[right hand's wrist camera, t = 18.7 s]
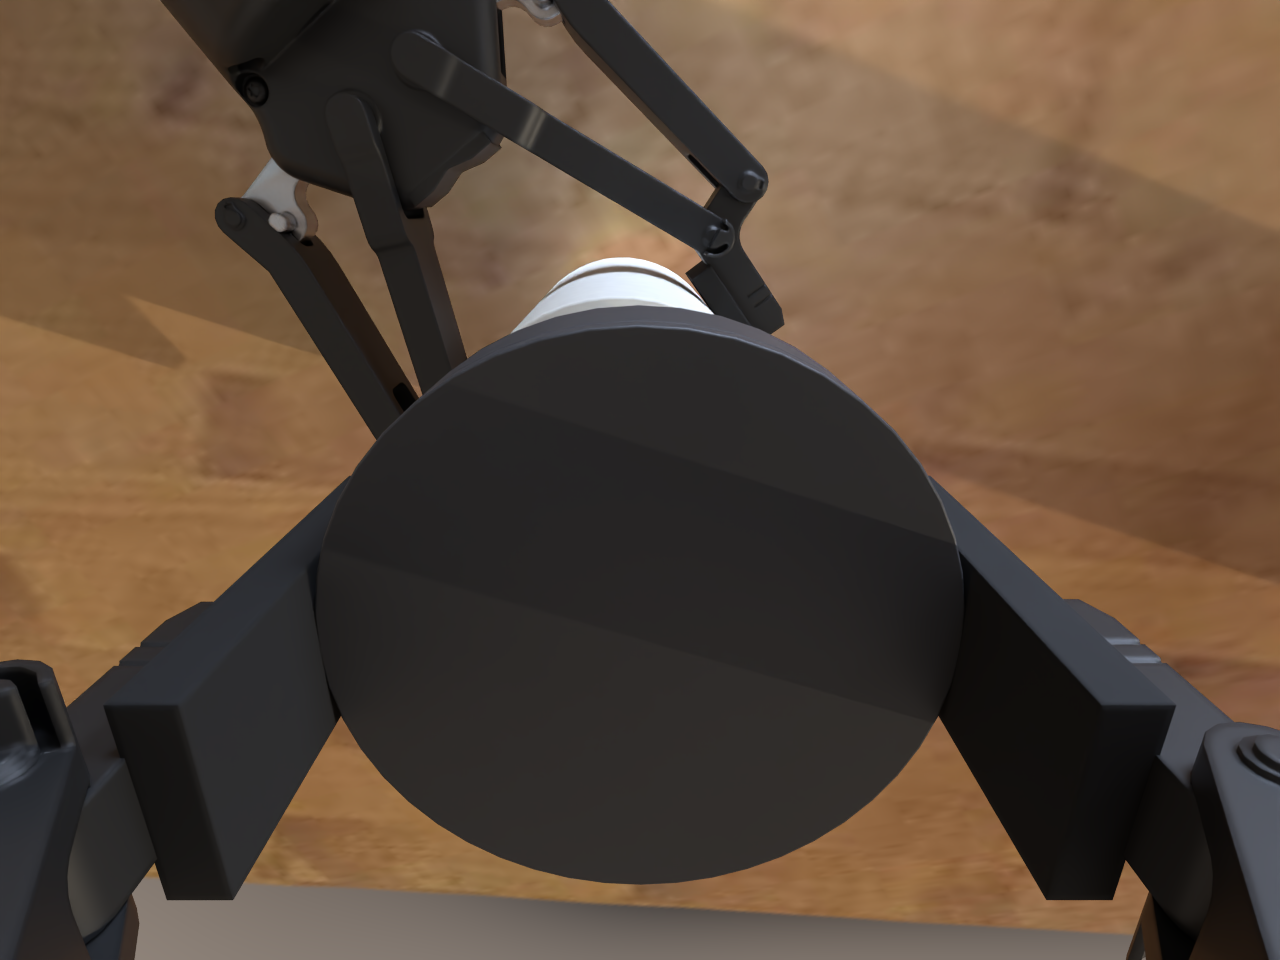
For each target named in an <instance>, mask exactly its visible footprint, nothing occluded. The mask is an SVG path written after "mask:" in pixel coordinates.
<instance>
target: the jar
mask: <svg viewBox="0 0 1280 960" xmlns="http://www.w3.org/2000/svg"><path fill="white" fill-rule="evenodd" d="M634 305H643V306H659V307H675V308H684V309H689V310H694V311H699V312H704V313H709V314H714V313H713V312H712V311H711V310H710V309H709V307H708V306H707V305H706V304H705V303H704V302H703V300H702V299H701V298H700V297H699V296H698V294H697V293H696V292H695V291H694V290H693V289H692V288H691V287H690V286H689V284H687V283H686V282H685V281H684V280H683V279H682V278H680V277H679V276H678V275H676V274H675V273H673V272H671V271H670V270H668V269H666V268H664V267H662V266H660V265H658V264H655V263H652V262H649V261H645V260H641V259H634V258H610V259H603V260H599V261H596V262H592V263H589V264H587V265H585V266H582V267H580V268H578V269H576V270H575V271H573V272H571V273H570V274H568V275H567V276H565V277H564V278H563V279H562V280H560V281H559V282H558V283H557V284H556V285H555V286H554V287H553V288H552V289H551V290H550V291H549V292H548V293H547V295H546V296H545V297H544V298H543V299H542V300H541V301H540V302H539V303H538V304H537V305H536V306H535V307H534V309H533V310H532V311H531V312H530V313H529V314H528V315H527V316H526V317H525V318H524V319H523V320H522V321H521V323H520V324H519V325H518V326H517V327H516V328H515V329H514V330H513V331H512V332H511V333H513V332H515V331H517V330H520V329H522V328H525V327H528V326H531V325H534V324H537V323H539V322H542V321H545V320H548V319H551V318H553V317H557V316H561V315H566V314H571V313H576V312H581V311H585V310H590V309H595V308H606V307H620V306H634ZM511 333H510V334H511Z"/></svg>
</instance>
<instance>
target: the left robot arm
mask: <svg viewBox="0 0 1280 960" xmlns="http://www.w3.org/2000/svg"><path fill="white" fill-rule="evenodd" d="M160 1H161V2H162V3H163V4H164V6H165V7H166V8H167V9H168V10H169V12H170V13H171V14H172V15H173V16H174V18H175V19H176V20H177V21H178V22H179V24H180V25H181V26H182V27H183V28H184V30H185V31H186V32H187V33H188V34H189V36H190V37H191V38H192V39H193V40H194V42H195V43H196V44H197V45H198V46H199V48H200V49H201V50H202V51H203V53H204V54H205V55H206V56H207V57H208V59H209V60H210V61H211V62H212V63H213V65H214V66H215V67H216V68H217V69H218V71H219V72H220V73H221V74H222V75H223V77H224V78H225V79H226V80H227V81H228V83H229V84H230V85H231V86H232V87H233V88H234V90H235V91H236V92H237V93H238V94H239V95H240V96H241V97H242V99H243V100H244V101H245V102H246V103H247V104H248V105H249V107H250V108H251V109H252V111H253V112H254V114H255V116H256V118H257V119H258V121H259V124H260V126H261V129H262V131H263V134H264V138H265V142H266V145H267V149H268V151H269V153H270V155H271V157H272V158H271V159H270V160H269V162H268V163H267V164H266V166H265V167H264V168H263V170H262V171H261V172H260V174H259V175H258V177H257V178H256V179H255V181H254V182H253V183H252V185H251V186H250V187H249V189H248V190H247V191H246V193H245V194H244V195H243V196H242V197H241V198H235V197H230V198H226V199H223V200H222V201H220V202H219V203H218V204H217V207H216V209H215V219H216V222H217V224H218V227H219V228H220V229H221V230H222V231H223V233H225V234H226V235H227V236H228V237H229V238H230V239H232V240H233V241H234V242H235V243H236V244H237V245H238V246H240V247H241V248H242V249H243V250H244V251H245V252H247V253H248V254H249V255H250V256H251V257H252V258H254V259H255V260H256V261H257V262H258V263H259V264H261V265H262V266H263V267H264V268H265V269H266V270H268V271H269V272H270V274H271V276H272V277H273V279H274V280H275V282H276V283H277V285H278V287H279V288H280V290H281V291H282V293H283V294H284V296H285V298H286V299H287V301H288V302H289V304H290V305H291V307H292V308H293V310H294V312H295V313H296V315H297V316H298V318H299V319H300V321H301V323H302V324H303V326H304V327H305V329H306V330H307V332H308V334H309V335H310V337H311V338H312V340H313V341H314V343H315V345H316V346H317V348H318V349H319V351H320V352H321V354H322V356H323V357H324V359H325V360H326V362H327V363H328V365H329V366H330V368H331V370H332V371H333V373H334V374H335V376H336V377H337V379H338V381H339V382H340V384H341V385H342V387H343V388H344V390H345V392H346V393H347V395H348V396H349V398H350V399H351V401H352V403H353V404H354V406H355V407H356V409H357V410H358V412H359V414H360V415H361V417H362V418H363V420H364V421H365V423H366V424H367V426H368V428H369V429H370V431H371V432H372V434H373V435H374V437H375V439H376V440H377V439H378V438H379V437H380V435H381V434H382V433H383V432H384V431H385V430H386V429H387V428H388V427H389V426H390V425H391V424H392V423H393V422H394V421H395V420H396V419H397V418H398V417H399V416H401V415H402V414H403V413H404V412H405V411H406V410H407V409H408V408H409V407H410V406H411V405H412V404H413V403H414V402H415V401H416V400H418V399H419V397H418V396H417V394H416V392H415V391H414V389H413V387H412V386H411V384H410V382H409V381H408V379H407V377H406V376H405V374H404V372H403V371H402V369H401V367H400V366H399V364H398V362H397V361H396V359H395V357H394V356H393V354H392V352H391V351H390V349H389V347H388V346H387V344H386V342H385V341H384V339H383V337H382V336H381V334H380V332H379V331H378V329H377V327H376V326H375V324H374V322H373V321H372V319H371V317H370V316H369V314H368V312H367V311H366V309H365V308H364V306H363V304H362V303H361V301H360V299H359V298H358V296H357V294H356V293H355V291H354V289H353V288H352V286H351V284H350V283H349V281H348V279H347V278H346V276H345V274H344V273H343V271H342V269H341V268H340V266H339V264H338V263H337V261H336V260H335V258H334V257H333V255H332V254H331V252H330V251H329V250H328V249H327V247H326V246H325V245H324V244H323V243H322V241H321V240H320V239H319V238H318V237H317V236H316V235H315V234H316V232H317V229H318V220H317V217H316V215H315V213H314V212H313V210H312V209H311V207H310V206H309V204H308V202H307V199H306V190H307V187H308V185H309V183H310V184H313V185H316V186H319V187H322V188H325V189H328V190H331V191H334V192H337V193H341V194H344V195H347V196H350V197H353V198H354V201H355V204H356V208H357V211H358V214H359V217H360V220H361V223H362V226H363V229H364V232H365V235H366V238H367V241H368V243H369V245H370V247H371V248H372V250H373V251H374V252H375V253H376V254H377V256H378V259H379V261H380V264H381V267H382V270H383V274H384V277H385V280H386V283H387V286H388V289H389V292H390V295H391V298H392V301H393V305H394V308H395V311H396V314H397V317H398V320H399V323H400V326H401V329H402V333H403V336H404V339H405V342H406V345H407V348H408V351H409V354H410V357H411V360H412V364H413V367H414V370H415V373H416V376H417V379H418V382H419V385H420V388H421V391H422V395H423V394H424V393H426V392H427V391H428V390H429V389H430V388H431V387H432V386H434V385H435V384H436V383H437V382H438V381H439V380H441V379H442V378H443V377H444V376H445V375H446V374H447V373H449V372H450V371H451V370H453V369H454V368H455V367H457V366H458V365H460V364H461V363H462V362H464V361H465V360H467V356H466V353H465V350H464V346H463V343H462V339H461V336H460V333H459V329H458V326H457V322H456V319H455V316H454V312H453V309H452V305H451V302H450V299H449V295H448V292H447V288H446V285H445V282H444V278H443V275H442V271H441V268H440V265H439V261H438V258H437V254H436V251H435V247H434V233H433V228H432V224H431V221H430V218H429V214H428V211H427V207H432V206H433V205H435V204H436V203H437V202H438V201H439V200H440V199H442V198H443V197H444V196H445V195H446V194H448V193H449V191H450V190H451V188H452V187H453V185H454V183H455V182H456V180H457V179H458V177H459V176H460V174H461V173H462V172H464V171H466V170H468V169H470V168H473V167H475V166H477V165H480V164H482V163H484V162H485V161H487V160H488V159H489V158H490V157H491V156H492V155H494V154H495V153H496V152H497V151H498V150H500V149H501V148H502V147H501V146H500V145H499V144H500V143H501V141H502V139H503V137H506V138H508V139H509V140H511V141H513V142H514V143H516V144H518V145H519V146H521V147H523V148H524V149H526V150H528V151H530V152H531V153H533V154H535V155H536V156H538V157H540V158H541V159H543V160H545V161H547V162H548V163H550V164H552V165H553V166H555V167H557V168H558V169H560V170H562V171H563V172H565V173H567V174H569V175H570V176H572V177H574V178H575V179H577V180H579V181H580V182H582V183H584V184H585V185H587V186H589V187H591V188H592V189H594V190H596V191H597V192H599V193H601V194H602V195H604V196H606V197H607V198H609V199H611V200H613V201H614V202H616V203H618V204H619V205H621V206H623V207H624V208H626V209H628V210H629V211H631V212H633V213H635V214H636V215H638V216H640V217H641V218H643V219H645V220H646V221H648V222H650V223H651V224H653V225H655V226H657V227H658V228H660V229H662V230H663V231H665V232H667V233H668V234H670V235H672V236H673V237H675V238H677V239H679V240H680V241H682V242H684V243H685V244H687V245H689V246H690V247H692V248H694V249H695V250H696V252H697V253H698V255H699V256H700V258H701V259H702V261H701V262H700V263H698V264H697V265H696V266H694V267H693V268H692V269H690V270H689V271H688V272H686V273H685V274H686V275H687V277H688V278H689V279H690V281H691V282H692V284H693V285H694V287H695V288H696V290H697V291H698V293H699V294H700V295H701V297H702V298H703V300H704V301H705V303H706V304H707V306H708V307H709V309H710V310H711V311H712V312H713V313H714V315H719V316H723V317H726V318H728V319H731V320H734V321H737V322H740V323H743V324H746V325H749V326H752V327H755V328H757V329H760V330H762V331H764V332H766V333H768V334H772V333H773V332H775V331H776V330H777V329H779V328H780V327H782V326H783V325H784V320H783V314H782V309H781V307H780V306H779V304H778V303H777V301H776V300H775V298H774V296H773V295H772V294H771V292H770V290H769V289H768V287H767V286H766V284H765V283H764V281H763V280H762V278H761V276H760V275H759V273H758V272H757V270H756V269H755V267H754V266H753V264H752V263H751V261H750V260H749V258H748V256H747V255H746V253H745V252H744V250H743V248H742V246H741V243H740V229H741V226H742V224H743V222H744V220H745V218H746V217H747V215H748V214H749V213H750V211H751V210H752V208H753V207H754V205H755V204H756V202H757V201H758V200H759V199H760V198H761V197H763V195H764V194H765V192H766V190H767V187H768V175H767V172H766V171H765V169H764V168H763V166H762V165H761V164H760V163H759V162H758V161H757V160H756V159H755V158H754V157H753V155H752V154H751V153H750V152H749V151H748V150H747V149H746V148H745V147H744V146H743V145H742V144H741V143H740V142H739V140H738V139H737V138H736V137H735V136H734V135H733V134H732V133H731V132H730V131H729V130H728V129H727V128H726V127H725V125H724V124H723V123H722V122H721V121H720V120H719V119H718V118H717V117H716V116H715V115H714V114H713V113H712V111H711V110H710V109H709V108H708V107H707V106H706V105H705V104H704V103H703V102H702V101H701V100H700V99H699V98H698V96H697V95H696V94H695V93H694V92H693V91H692V90H691V89H690V88H689V87H688V86H687V85H686V84H685V82H684V81H683V80H682V79H681V78H680V77H679V76H678V75H677V74H676V73H675V72H674V71H673V70H672V69H671V67H670V66H669V65H668V64H667V63H666V62H665V61H664V60H663V59H662V58H661V57H660V56H659V55H658V53H657V52H656V51H655V50H654V49H653V48H652V47H651V46H650V45H649V44H648V43H647V42H646V41H645V40H644V38H643V37H642V36H641V35H640V34H639V33H638V32H637V31H636V30H635V29H634V28H633V27H632V26H631V25H630V23H629V22H628V21H627V20H626V19H625V18H624V17H623V16H622V15H621V14H620V13H619V12H618V11H617V9H616V8H615V7H614V6H613V5H612V4H611V3H610V2H609V1H608V0H160ZM508 7H518V8H521V9H523V10H524V11H526V12H527V13H528V14H529V16H530V17H531V18H532V19H533V20H534V22H536V23H537V24H539V25H540V26H544V27H552V26H554V25H557V24H558V23H560V22H561V21H562V23H563V24H564V26H565V28H566V30H567V31H568V32H569V34H570V35H571V37H572V38H573V40H574V41H575V42H576V44H577V45H578V46H579V47H580V48H581V49H582V51H583V52H584V53H585V54H586V55H587V56H588V57H589V58H590V59H591V60H592V61H593V62H594V63H595V64H596V65H597V66H598V67H599V68H600V70H601V71H602V72H603V73H604V74H605V75H606V76H607V77H608V78H609V79H610V80H611V81H612V82H613V83H614V84H615V85H616V86H617V87H618V88H619V89H620V90H621V91H622V92H623V93H624V94H625V95H626V96H627V98H628V99H629V100H630V101H631V102H632V103H633V104H634V105H635V106H636V107H637V108H638V109H639V110H640V111H641V112H642V113H643V114H644V115H645V116H646V117H647V118H648V119H649V120H650V121H651V122H652V123H653V124H654V126H655V127H656V128H657V129H658V130H659V131H660V132H661V133H662V134H663V135H664V136H665V137H666V138H667V139H668V140H669V141H670V142H671V143H672V144H673V145H674V146H675V147H676V148H677V149H678V150H679V151H680V152H681V154H682V155H683V156H684V157H685V158H686V159H687V160H688V161H689V162H690V163H691V164H692V165H693V166H694V167H695V168H696V169H697V170H698V171H699V172H700V173H701V174H702V175H703V176H704V177H705V178H706V179H707V180H708V182H709V183H710V184H711V185H712V186H713V187H714V188H715V190H714V192H713V193H712V195H711V196H710V198H709V200H708V201H707V203H706V204H705V206H704V207H702V206H701V205H699V204H697V203H696V202H694V201H692V200H691V199H689V198H687V197H686V196H684V195H682V194H681V193H679V192H677V191H676V190H674V189H672V188H671V187H669V186H668V185H666V184H664V183H663V182H661V181H659V180H658V179H656V178H654V177H653V176H651V175H649V174H648V173H646V172H644V171H643V170H641V169H639V168H638V167H636V166H634V165H633V164H631V163H630V162H628V161H626V160H625V159H623V158H621V157H620V156H618V155H616V154H615V153H613V152H611V151H610V150H608V149H606V148H605V147H603V146H601V145H600V144H598V143H596V142H595V141H593V140H592V139H590V138H588V137H587V136H585V135H583V134H582V133H580V132H578V131H577V130H575V129H573V128H572V127H570V126H568V125H567V124H565V123H563V122H562V121H560V120H558V119H557V118H555V117H554V116H552V115H550V114H549V113H547V112H546V111H544V110H543V109H541V108H540V107H538V106H537V105H535V104H534V103H532V102H530V101H529V100H527V99H526V98H524V97H522V96H521V95H519V94H517V93H516V92H514V91H512V90H511V89H509V88H507V84H506V68H505V53H504V37H503V21H502V10H503V9H506V8H508Z"/></svg>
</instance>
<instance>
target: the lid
mask: <svg viewBox="0 0 1280 960" xmlns="http://www.w3.org/2000/svg"><path fill="white" fill-rule="evenodd" d="M964 615H965V606H964V585H963V572H962V567H961V562H960V557H959V552H958V547H957V542H956V538H955V534H954V532H953V529H952V526H951V524H950V521H949V518H948V516H947V513H946V510H945V508H944V505H943V502H942V500H941V498H940V496H939V494H938V493H937V491H936V489H935V487H934V486H933V484H932V482H931V480H930V479H929V477H928V475H927V473H926V471H925V470H924V468H923V466H922V464H921V463H920V462H919V460H918V459H917V458H916V457H915V455H914V454H913V453H912V452H911V450H910V449H909V448H908V447H907V445H906V444H905V443H904V441H903V440H902V439H901V438H900V436H899V435H898V434H897V433H896V431H895V430H894V429H893V428H892V427H891V426H889V425H888V424H887V423H886V422H885V421H884V420H883V419H882V418H881V417H880V416H879V415H878V414H877V413H876V412H875V411H874V410H872V409H871V408H870V407H869V406H868V405H867V404H866V403H865V402H864V401H863V400H862V399H861V398H859V397H858V396H857V395H856V394H855V393H854V392H853V391H851V390H850V389H849V388H848V387H847V386H846V385H845V384H843V383H842V382H841V381H840V380H839V379H838V378H836V377H835V376H834V375H833V374H832V373H831V372H830V371H828V370H827V369H826V368H824V367H823V366H821V365H820V364H819V363H817V362H816V361H814V360H813V359H811V358H810V357H809V356H807V355H806V354H804V353H803V352H801V351H800V350H799V349H797V348H796V347H794V346H792V345H790V344H788V343H786V342H784V341H782V340H780V339H778V338H776V337H774V336H772V335H770V334H768V333H766V332H764V331H762V330H760V329H757V328H755V327H752V326H749V325H746V324H743V323H740V322H737V321H734V320H731V319H728V318H726V317H723V316H719V315H714V314H709V313H704V312H699V311H694V310H689V309H684V308H675V307H659V306H643V305H634V306H620V307H606V308H595V309H590V310H585V311H581V312H576V313H571V314H566V315H561V316H557V317H553V318H551V319H548V320H545V321H542V322H539V323H537V324H534V325H531V326H528V327H525V328H522V329H520V330H517V331H515V332H513V333H511V334H509V335H507V336H505V337H503V338H502V339H500V340H498V341H496V342H494V343H492V344H490V345H488V346H486V347H484V348H482V349H481V350H479V351H478V352H476V353H475V354H474V355H472V356H471V357H469V358H468V359H467V360H465V361H464V362H462V363H461V364H460V365H458V366H457V367H455V368H454V369H453V370H451V371H450V372H449V373H447V374H446V375H445V376H444V377H443V378H442V379H441V380H439V381H438V382H437V383H436V384H435V385H434V386H432V387H431V388H430V389H429V390H428V391H427V392H426V393H424V394H423V395H422V396H421V397H420V398H419V399H418V400H416V401H415V402H414V403H413V404H412V405H411V406H410V407H409V408H408V409H407V410H406V411H405V412H404V413H403V414H402V415H401V416H399V417H398V418H397V419H396V420H395V421H394V422H393V423H392V424H391V425H390V426H389V427H388V428H387V429H386V430H385V431H384V432H383V433H382V434H381V435H380V437H379V438H378V439H377V441H376V442H375V443H374V444H373V446H372V447H371V448H370V450H369V451H368V452H367V453H366V455H365V456H364V457H363V459H362V460H361V461H360V463H359V464H358V465H357V467H356V468H355V470H354V472H353V474H352V476H351V477H350V479H349V481H348V483H347V485H346V486H345V488H344V490H343V492H342V494H341V495H340V497H339V499H338V501H337V503H336V506H335V509H334V511H333V514H332V517H331V520H330V522H329V525H328V528H327V531H326V533H325V536H324V539H323V544H322V549H321V554H320V559H319V564H318V569H317V575H316V593H315V621H316V628H317V634H318V639H319V645H320V651H321V656H322V661H323V665H324V670H325V675H326V679H327V682H328V686H329V688H330V691H331V693H332V695H333V698H334V700H335V702H336V705H337V707H338V709H339V711H340V714H341V716H342V718H343V720H344V722H345V723H346V725H347V727H348V728H349V730H350V732H351V733H352V735H353V737H354V738H355V740H356V742H357V743H358V745H359V747H360V748H361V750H362V751H363V752H364V753H365V755H366V756H367V757H368V758H369V760H370V761H371V762H372V763H373V765H374V766H375V767H376V768H377V770H378V771H379V772H380V773H381V775H382V776H383V777H384V778H385V779H386V780H387V781H388V782H389V783H390V784H391V785H392V786H393V787H394V788H395V789H396V790H397V791H398V792H399V793H400V794H401V795H402V796H403V797H404V798H405V799H406V800H407V801H408V802H410V803H411V804H412V805H414V806H415V807H416V808H417V809H419V810H420V811H421V812H423V813H424V814H425V815H427V816H428V817H429V818H430V819H432V820H433V821H434V822H436V823H437V824H438V825H440V826H442V827H443V828H445V829H447V830H448V831H450V832H452V833H453V834H455V835H457V836H458V837H460V838H462V839H463V840H465V841H466V842H468V843H470V844H473V845H475V846H477V847H479V848H481V849H483V850H485V851H487V852H490V853H492V854H494V855H496V856H498V857H500V858H503V859H506V860H509V861H512V862H514V863H517V864H520V865H523V866H526V867H529V868H532V869H535V870H539V871H543V872H547V873H551V874H555V875H559V876H563V877H568V878H574V879H581V880H588V881H595V882H602V883H618V884H640V885H642V884H661V883H678V882H685V881H692V880H699V879H705V878H712V877H716V876H720V875H724V874H728V873H732V872H736V871H740V870H744V869H748V868H751V867H754V866H757V865H759V864H762V863H765V862H768V861H771V860H773V859H776V858H779V857H782V856H784V855H786V854H788V853H790V852H792V851H794V850H796V849H798V848H800V847H803V846H805V845H807V844H809V843H811V842H813V841H815V840H816V839H818V838H820V837H821V836H823V835H825V834H826V833H828V832H829V831H831V830H833V829H834V828H836V827H837V826H839V825H841V824H842V823H844V822H845V821H847V820H848V819H849V818H850V817H852V816H853V815H854V814H856V813H857V812H858V811H859V810H861V809H862V808H863V807H864V806H866V805H867V804H868V803H870V802H871V801H872V800H873V799H874V798H875V797H876V796H877V795H878V794H879V793H880V792H881V791H882V790H883V789H884V788H885V787H886V786H887V785H888V784H889V783H890V782H891V781H892V780H893V779H894V778H895V777H896V776H897V775H898V774H899V773H900V772H901V770H902V769H903V768H904V767H905V765H906V764H907V763H908V761H909V760H910V759H911V758H912V756H913V755H914V754H915V753H916V751H917V750H918V749H919V747H920V746H921V744H922V742H923V741H924V739H925V737H926V736H927V734H928V732H929V731H930V729H931V727H932V726H933V724H934V722H935V721H936V719H937V717H938V715H939V713H940V710H941V708H942V706H943V703H944V701H945V698H946V696H947V694H948V691H949V689H950V687H951V684H952V681H953V677H954V673H955V668H956V663H957V658H958V653H959V648H960V642H961V636H962V630H963V624H964Z"/></svg>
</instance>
